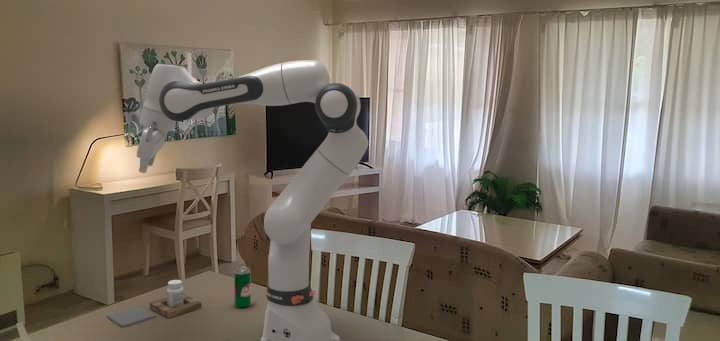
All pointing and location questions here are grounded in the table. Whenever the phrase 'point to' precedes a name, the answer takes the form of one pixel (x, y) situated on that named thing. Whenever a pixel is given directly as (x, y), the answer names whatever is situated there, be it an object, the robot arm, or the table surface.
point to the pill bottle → (175, 294)
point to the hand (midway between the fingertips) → (145, 168)
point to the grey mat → (131, 316)
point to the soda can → (242, 287)
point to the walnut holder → (168, 312)
